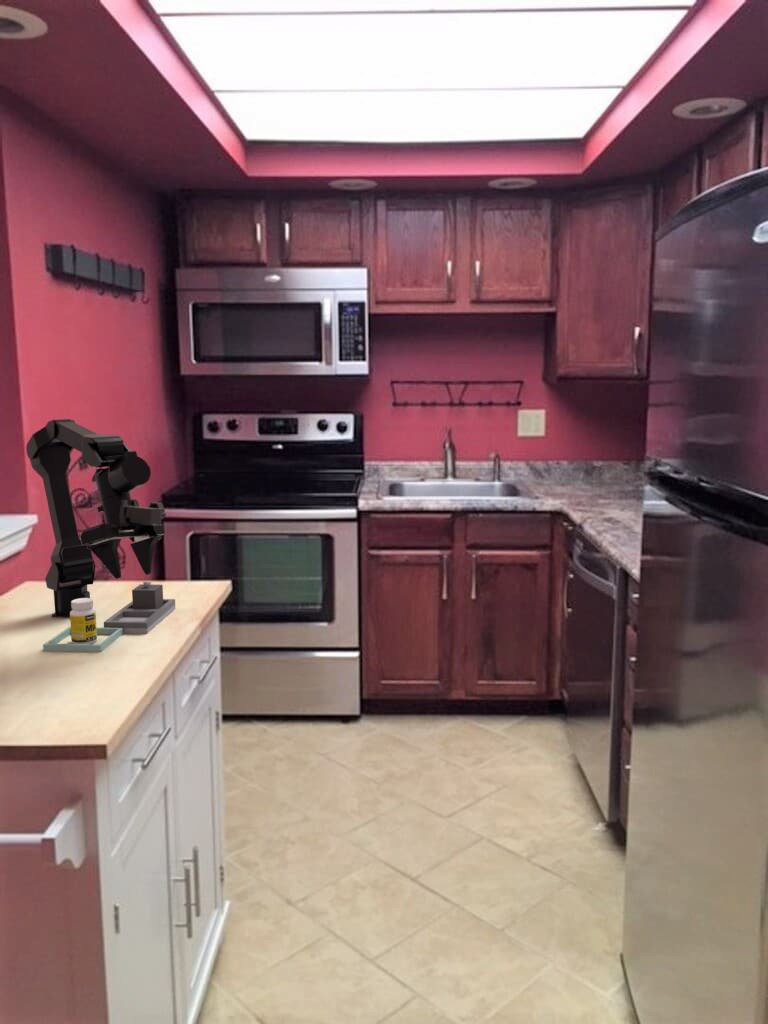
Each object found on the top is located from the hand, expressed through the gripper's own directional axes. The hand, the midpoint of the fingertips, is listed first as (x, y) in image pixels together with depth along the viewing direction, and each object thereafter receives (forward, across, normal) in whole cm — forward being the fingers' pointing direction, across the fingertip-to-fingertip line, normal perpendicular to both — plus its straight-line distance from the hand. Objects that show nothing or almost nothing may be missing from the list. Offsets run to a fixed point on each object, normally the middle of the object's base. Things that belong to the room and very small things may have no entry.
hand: (133, 576), depth 163 cm
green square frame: (+10, -2, +13) cm, 17 cm away
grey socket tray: (+8, +14, +11) cm, 20 cm away
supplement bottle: (+10, -2, +13) cm, 17 cm away
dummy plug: (+7, +18, +12) cm, 23 cm away
